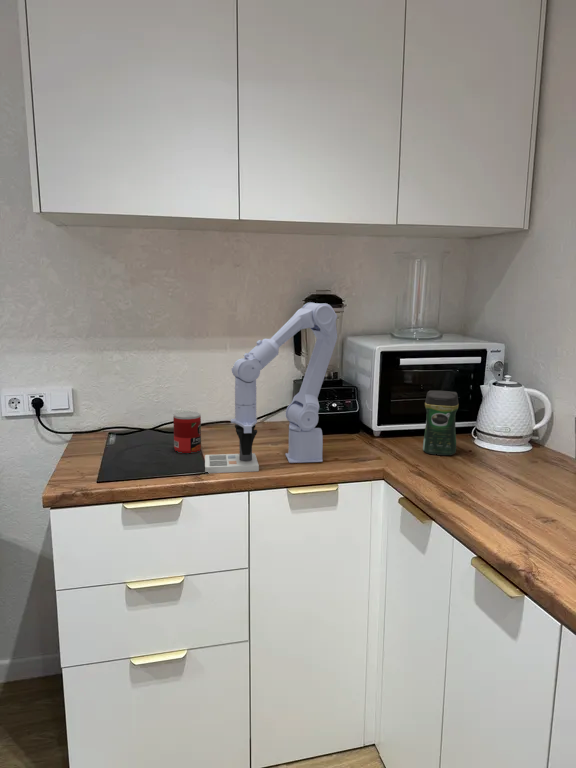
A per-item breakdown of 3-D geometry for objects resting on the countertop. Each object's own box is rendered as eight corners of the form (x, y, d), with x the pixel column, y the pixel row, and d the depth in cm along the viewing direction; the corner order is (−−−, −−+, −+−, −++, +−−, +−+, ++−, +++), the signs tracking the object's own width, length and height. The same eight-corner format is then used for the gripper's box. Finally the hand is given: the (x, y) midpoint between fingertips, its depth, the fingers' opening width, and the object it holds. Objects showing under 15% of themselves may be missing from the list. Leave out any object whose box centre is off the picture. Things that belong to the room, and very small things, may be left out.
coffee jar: (456, 450, 172) (460, 389, 169) (455, 457, 165) (459, 394, 162) (423, 447, 176) (427, 387, 172) (420, 454, 168) (424, 392, 165)
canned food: (195, 455, 165) (195, 417, 163) (169, 453, 166) (168, 416, 164) (204, 447, 172) (204, 412, 170) (179, 445, 174) (179, 410, 172)
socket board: (254, 458, 162) (254, 452, 162) (258, 471, 151) (258, 464, 151) (204, 460, 160) (204, 454, 159) (205, 473, 149) (205, 466, 149)
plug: (251, 457, 158) (251, 432, 156) (252, 461, 154) (252, 436, 153) (239, 457, 157) (239, 433, 156) (239, 461, 154) (239, 436, 153)
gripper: (229, 398, 160) (229, 445, 162) (232, 409, 145) (232, 461, 148) (254, 397, 161) (254, 444, 163) (259, 409, 146) (259, 460, 149)
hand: (245, 452), depth 155 cm, fingers closed on plug, 3 cm apart
